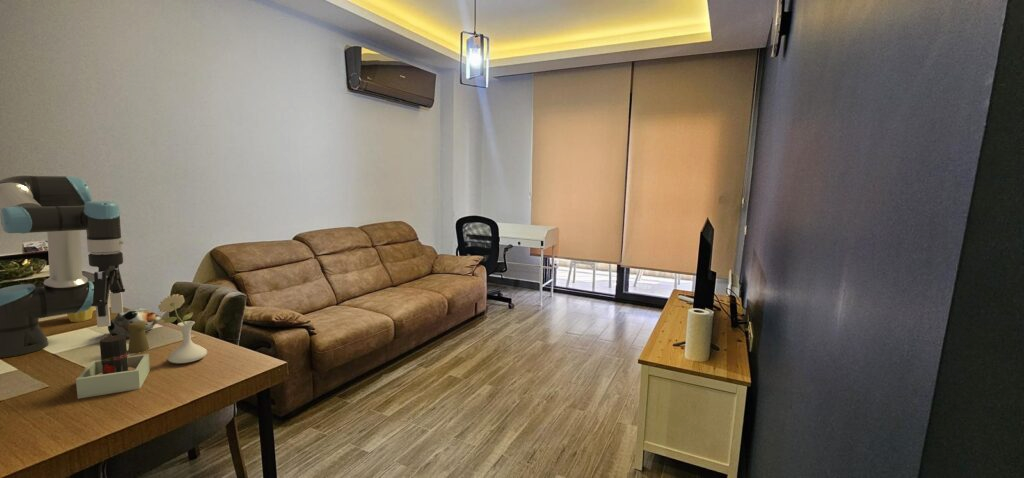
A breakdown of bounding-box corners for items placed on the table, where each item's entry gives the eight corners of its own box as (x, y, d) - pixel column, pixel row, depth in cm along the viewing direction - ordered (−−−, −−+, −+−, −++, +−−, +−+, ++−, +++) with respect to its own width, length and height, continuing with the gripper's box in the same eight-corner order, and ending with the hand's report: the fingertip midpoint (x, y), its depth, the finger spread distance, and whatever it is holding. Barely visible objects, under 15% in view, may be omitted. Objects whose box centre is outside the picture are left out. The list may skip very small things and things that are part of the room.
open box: (93, 378, 135) (92, 361, 134) (149, 370, 142) (148, 353, 142) (77, 398, 123) (75, 379, 123) (139, 388, 130) (138, 370, 130)
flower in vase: (204, 350, 160) (201, 287, 156) (210, 360, 152) (206, 294, 148) (160, 359, 151) (155, 292, 147) (163, 370, 143) (159, 300, 139)
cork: (153, 347, 160) (151, 320, 159) (138, 354, 154) (136, 325, 153) (139, 346, 161) (137, 319, 159) (123, 352, 155) (121, 324, 153)
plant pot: (56, 322, 181) (54, 300, 179) (84, 315, 191) (82, 294, 189) (76, 324, 179) (74, 302, 178) (103, 317, 189) (101, 296, 188)
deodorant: (133, 381, 135) (130, 336, 133) (110, 389, 129) (107, 343, 127) (121, 377, 137) (118, 333, 135) (98, 385, 131) (95, 340, 129)
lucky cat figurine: (154, 325, 182) (164, 300, 179) (152, 344, 174) (163, 318, 171) (107, 322, 172) (118, 295, 169) (103, 342, 164) (114, 314, 161)
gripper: (109, 259, 119) (115, 330, 121) (132, 245, 140) (136, 306, 143) (72, 260, 115) (79, 334, 118) (101, 246, 136) (107, 309, 139)
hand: (111, 319), depth 130 cm, fingers open, 13 cm apart
